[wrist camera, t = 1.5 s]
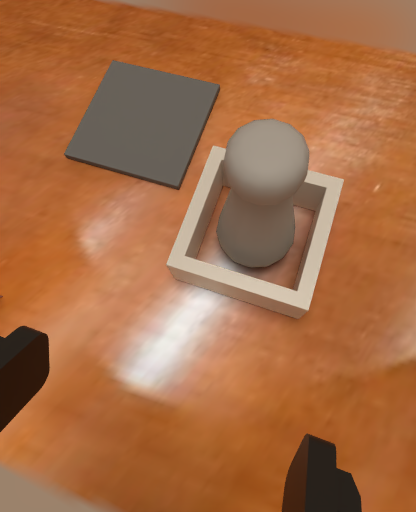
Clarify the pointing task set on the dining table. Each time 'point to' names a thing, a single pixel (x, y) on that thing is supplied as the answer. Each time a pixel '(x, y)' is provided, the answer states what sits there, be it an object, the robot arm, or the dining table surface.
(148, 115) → the mat
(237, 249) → the salt shaker
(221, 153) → the collar
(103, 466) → the dining table surface
